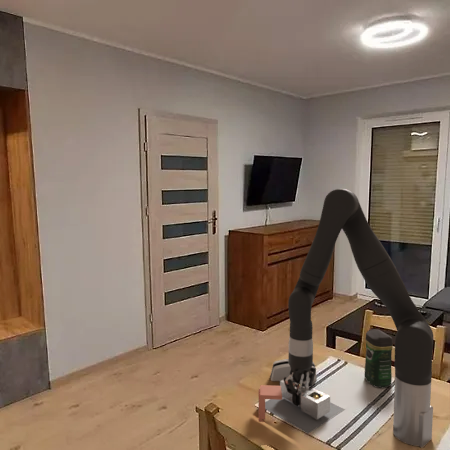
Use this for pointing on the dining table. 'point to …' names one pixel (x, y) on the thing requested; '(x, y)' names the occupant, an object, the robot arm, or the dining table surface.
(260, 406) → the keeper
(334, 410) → the board
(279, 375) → the grey arched slotted block
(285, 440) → the dining table surface
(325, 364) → the dining table surface
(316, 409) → the grey long bar
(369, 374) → the coffee jar
